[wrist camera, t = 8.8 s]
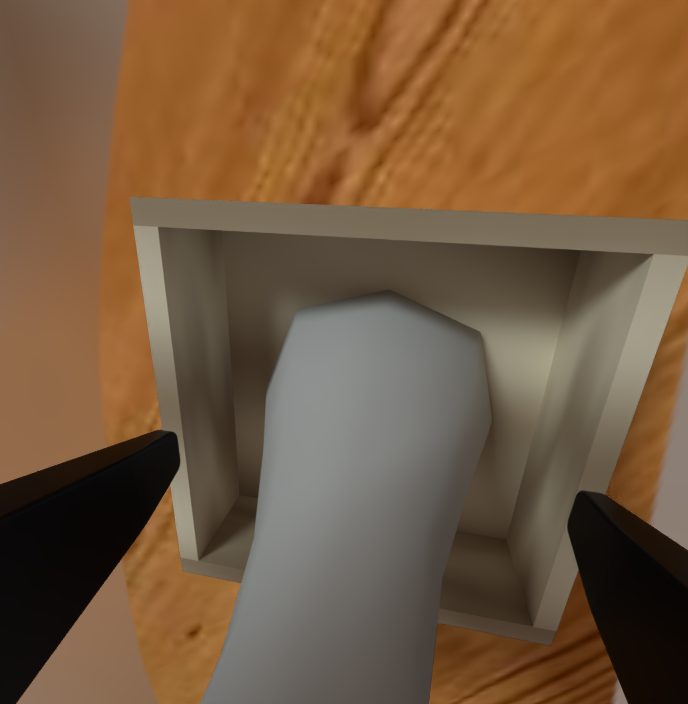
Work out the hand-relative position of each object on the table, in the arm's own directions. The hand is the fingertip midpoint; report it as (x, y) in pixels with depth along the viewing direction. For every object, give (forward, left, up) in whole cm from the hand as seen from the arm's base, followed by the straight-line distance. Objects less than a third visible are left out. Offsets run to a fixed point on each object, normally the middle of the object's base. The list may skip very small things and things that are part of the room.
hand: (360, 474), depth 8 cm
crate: (0, 0, -5) cm, 5 cm away
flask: (0, 0, -4) cm, 4 cm away
